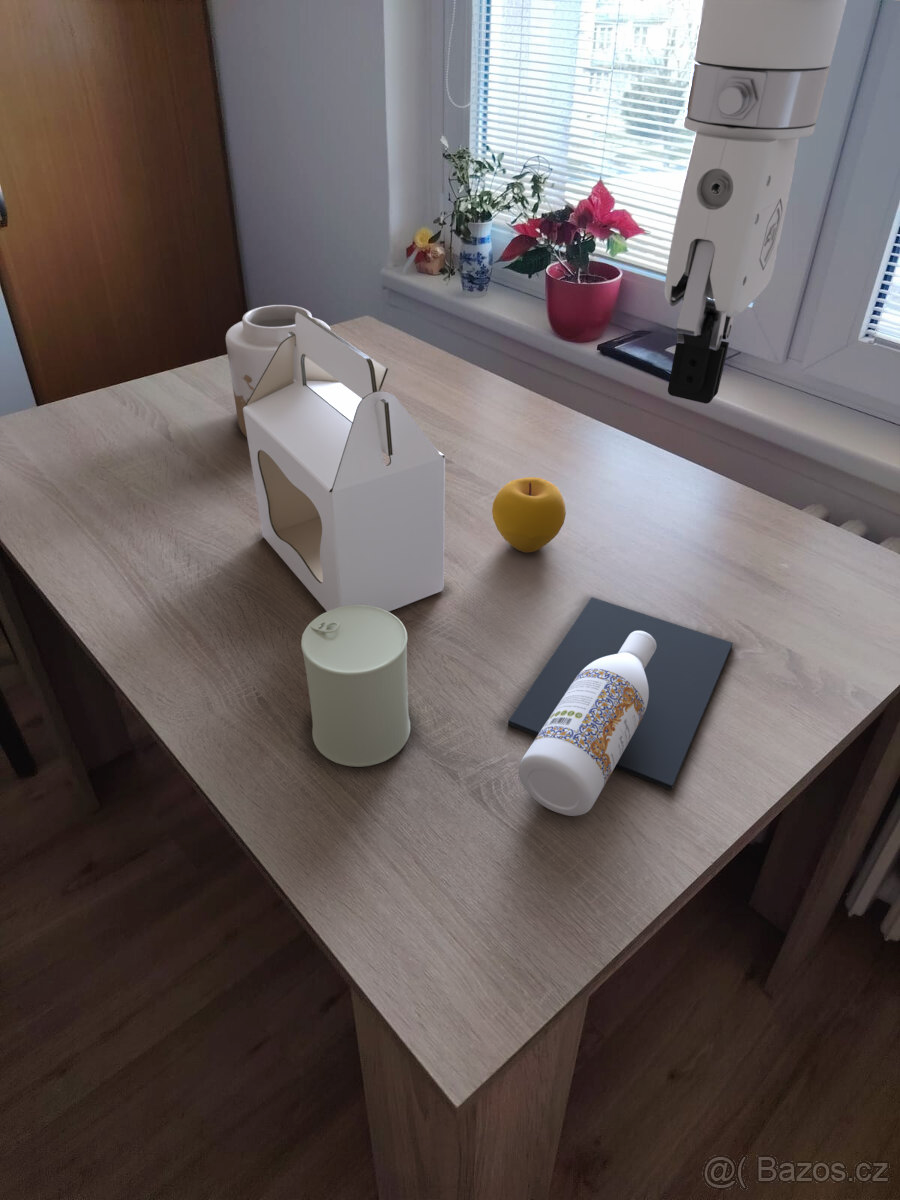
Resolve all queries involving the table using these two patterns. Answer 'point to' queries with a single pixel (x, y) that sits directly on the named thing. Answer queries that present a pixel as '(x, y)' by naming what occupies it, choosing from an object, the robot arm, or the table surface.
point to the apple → (529, 513)
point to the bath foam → (589, 730)
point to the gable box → (344, 475)
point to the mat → (672, 674)
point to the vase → (257, 348)
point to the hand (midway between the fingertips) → (691, 395)
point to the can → (357, 684)
